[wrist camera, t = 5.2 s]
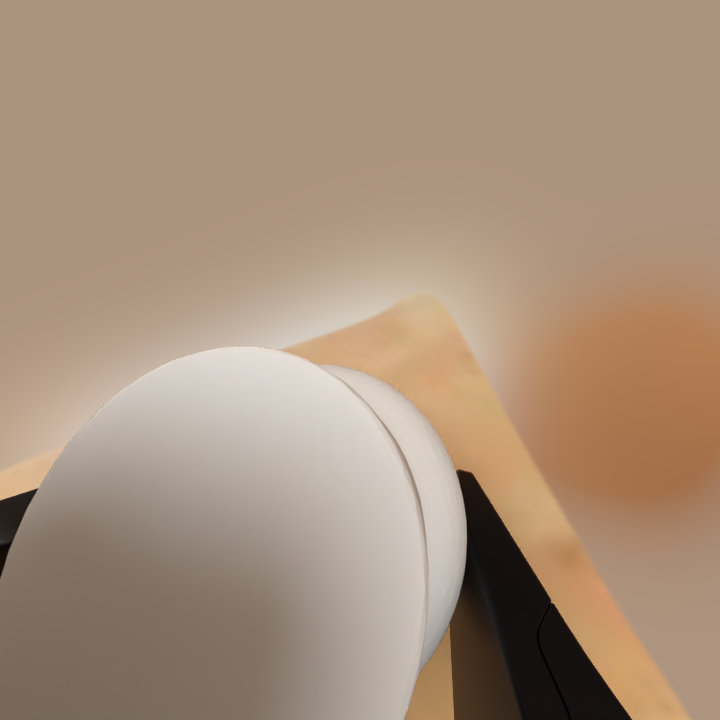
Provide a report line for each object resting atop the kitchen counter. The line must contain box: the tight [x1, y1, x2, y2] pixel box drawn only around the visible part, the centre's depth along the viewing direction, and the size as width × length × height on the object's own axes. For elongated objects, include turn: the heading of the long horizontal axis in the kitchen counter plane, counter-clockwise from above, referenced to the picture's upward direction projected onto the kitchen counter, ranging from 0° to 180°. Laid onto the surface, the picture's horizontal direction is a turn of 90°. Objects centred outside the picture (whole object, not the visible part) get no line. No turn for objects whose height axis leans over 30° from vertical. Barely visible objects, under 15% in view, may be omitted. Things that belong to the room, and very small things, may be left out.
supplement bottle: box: [0, 346, 467, 720], centre depth 9 cm, size 7×7×13 cm
